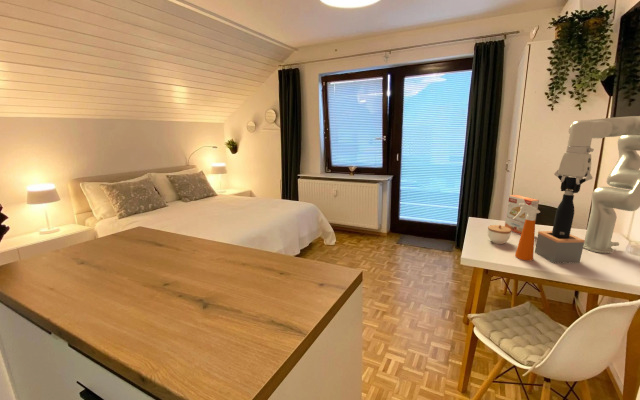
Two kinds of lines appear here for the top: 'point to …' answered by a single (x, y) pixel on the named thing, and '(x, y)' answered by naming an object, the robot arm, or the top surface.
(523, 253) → the spray bottle
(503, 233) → the lidded jar
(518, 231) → the cracker box
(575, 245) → the sleeve
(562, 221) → the black water bottle
